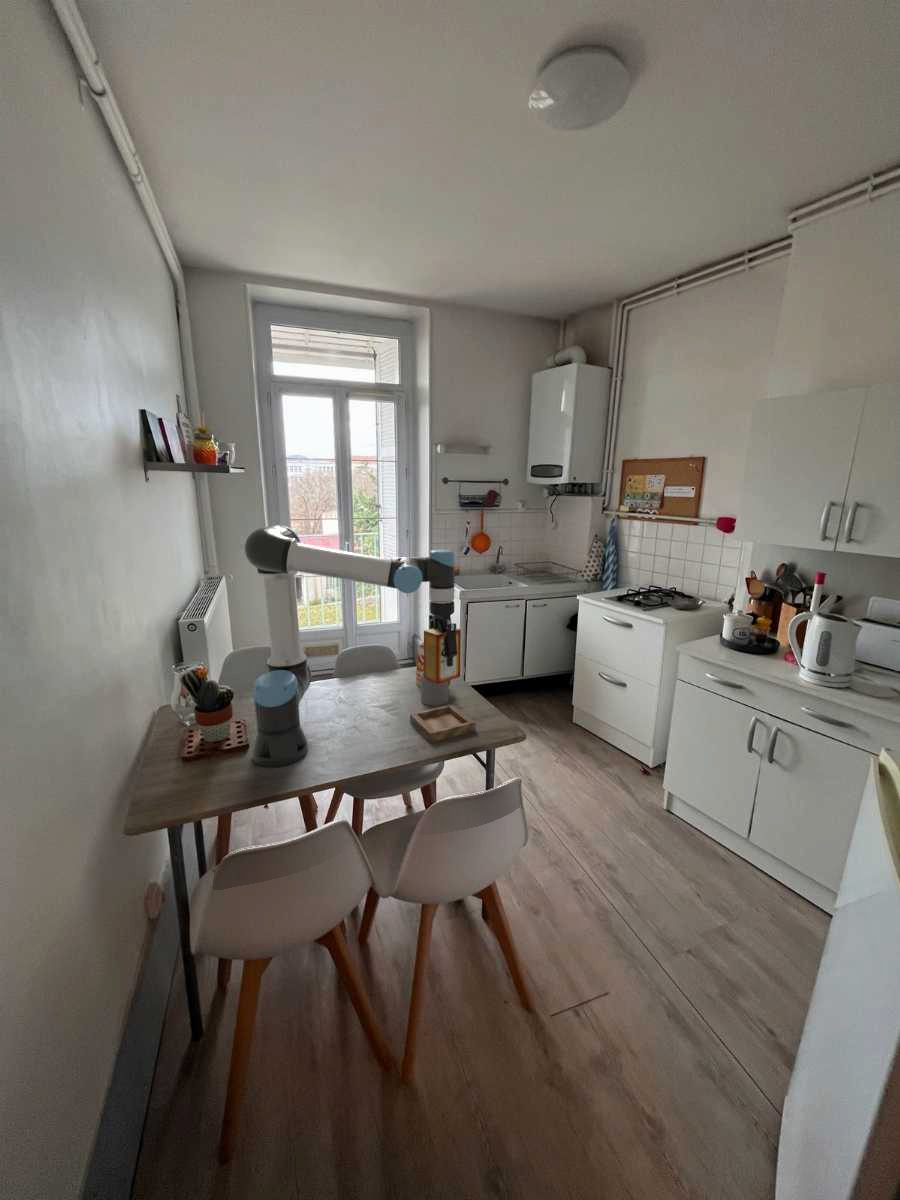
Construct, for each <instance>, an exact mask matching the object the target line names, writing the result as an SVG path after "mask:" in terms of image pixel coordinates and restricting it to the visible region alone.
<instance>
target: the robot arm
mask: <svg viewBox="0 0 900 1200" xmlns="http://www.w3.org/2000/svg"><path fill="white" fill-rule="evenodd" d="M244 553H245V556H246V559H247V560H248V561H249V563H250V564H251V565H252V566H254V567H255V568H256V569H257V574H258V576H259V575H260V576H261V578H263V581H264V582H263V583H264V591H265V592H264V593H265V602H266V610H267V622H268V631H269V642H270V651H271V652H270V653H271V656H270V657H268V659H267V660H266V663H267V664H266V665H267V672H266V673H264V674H261V675H260V676H259V677H257V679H256V680H254V681H255V682H254V683H253V695H252V697H253V700H254V701H253V702H254V710H255V719H256V720H255V722H256V730H257V731H256V737H255V740H254V743H253V748H252V760H253V762H254V763H255V764H257V765H258V766H262V767H265V768H266V767H267V768H278V767H284V766H288V765H291V764H294V763H296V762H298V761H300V760H302V759H303V758H304V757H305V756H306V755H307V753H308V752H309V746H308V740H307V737H306V736H305V734H304V730H303V729H302V727H301V722H300V721H301V720H300V719H301V717H300V702H301V701H302V699H303V697H304V695H305V693H306V692H307V691H308V689H309V687H310V686H311V681H312V670H311V668H310V665H309V664H308V660H307V654H305V653H303V652H302V650H301V639H300V638H301V637H300V626H299V614H298V604H297V603H298V602H297V601H298V600H297V592H296V579H295V576H296V575H297V574H298V573H305V574H309V575H315V576H322V577H328V578H334V579H339V580H345V581H351V582H357V583H362V584H368V585H375V586H380V587H386V588H391V589H396V590H399V592H401V593H404V594H411V593H414V592H416V591H417V590H419V588H420V587H421V585H422V583H429V600H430V602H429V612H430V615H428V621H429V623H428V624H429V625H428V630H429V629H438V630H440V632H441V633H445V632H446V633H447V636H446V637H444V649H445V655H443V656H444V676H450V675H453V656H455V655H457V643H456V628H457V623H456V622H455V623H453V622H452V619H451V616H452V615H454V614H455V601H454V600H455V592H456V589H455V576H456V575H455V571H456V569H455V568H456V566H455V553H454V552H453V551H452V550H449V549H432V550H430V551H429V554H428V556H424V557H421V556H419V557H417V556H415V557H413V556H409V557H408V556H399V557H396V556H395V557H391V558H390V559H388V558H383V557H378V556H372V555H366V554H360V553H355V552H350V551H349V552H348V551H345V550H339V549H333V548H326V547H321V546H317V545H310V544H304V543H301V539H300V537H299V536H298V534H297V533H296V532H295V531H294V530H293V529H291V528H290V527H288V526H286V525H282V524H280V525H279V524H278V525H277V524H274V525H272V524H271V525H267V526H266V527H261V528H258V529H256V530H254V531H252V532H251V533H250V534H249V535H248V536H247V538H246V541H245V544H244ZM444 631H445V632H444Z"/></svg>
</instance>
